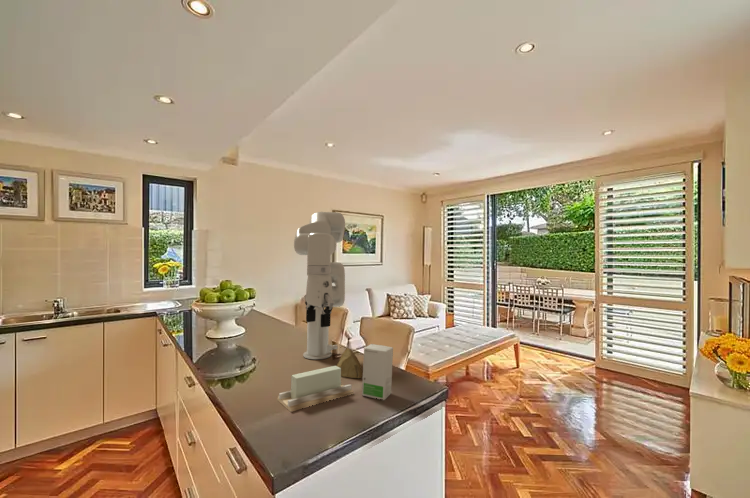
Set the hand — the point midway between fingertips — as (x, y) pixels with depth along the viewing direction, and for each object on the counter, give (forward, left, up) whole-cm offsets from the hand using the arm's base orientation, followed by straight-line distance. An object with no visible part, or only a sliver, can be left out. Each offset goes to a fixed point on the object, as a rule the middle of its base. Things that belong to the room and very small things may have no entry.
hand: (317, 324), depth 109 cm
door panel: (0, 0, -22) cm, 22 cm away
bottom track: (0, 0, -23) cm, 23 cm away
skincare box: (-17, +10, -24) cm, 31 cm away
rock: (-19, -10, -24) cm, 32 cm away
